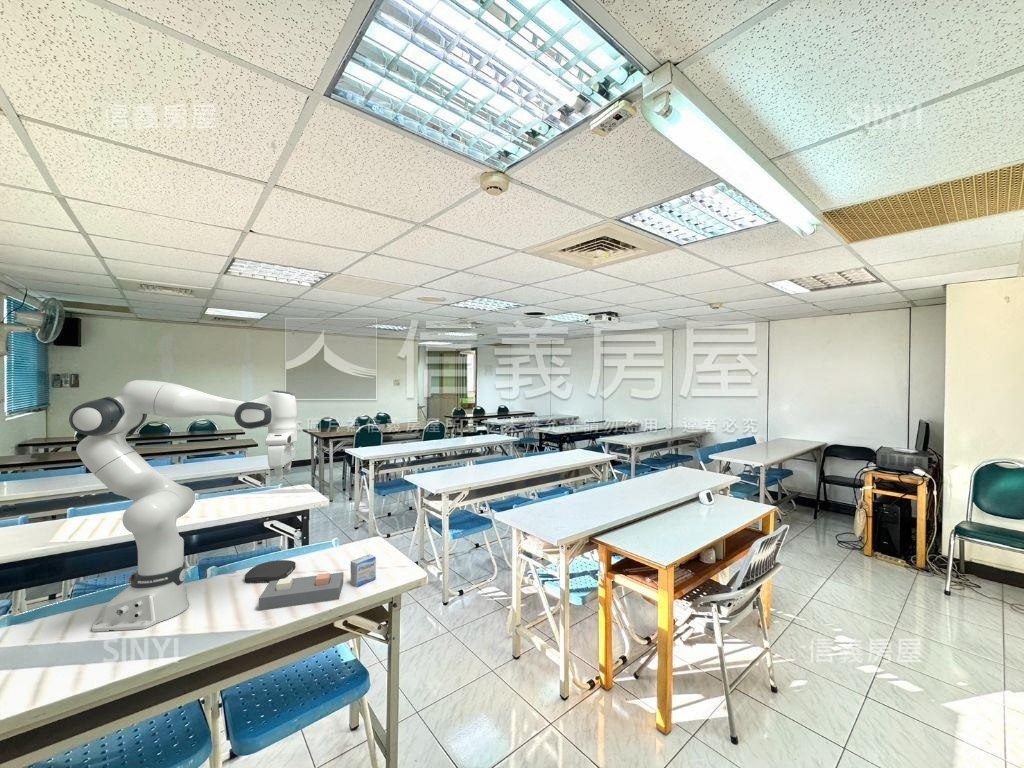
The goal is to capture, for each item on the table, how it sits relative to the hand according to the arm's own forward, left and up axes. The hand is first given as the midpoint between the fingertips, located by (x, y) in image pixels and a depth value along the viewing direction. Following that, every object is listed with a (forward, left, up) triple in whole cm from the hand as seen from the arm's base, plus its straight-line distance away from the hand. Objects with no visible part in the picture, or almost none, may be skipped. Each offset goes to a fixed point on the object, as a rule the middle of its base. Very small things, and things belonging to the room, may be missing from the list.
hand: (283, 476), depth 137 cm
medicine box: (+26, +3, -42) cm, 49 cm away
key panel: (+7, -2, -41) cm, 42 cm away
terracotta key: (+13, -2, -38) cm, 41 cm away
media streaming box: (-9, +20, -42) cm, 48 cm away
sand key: (+1, -2, -38) cm, 39 cm away
